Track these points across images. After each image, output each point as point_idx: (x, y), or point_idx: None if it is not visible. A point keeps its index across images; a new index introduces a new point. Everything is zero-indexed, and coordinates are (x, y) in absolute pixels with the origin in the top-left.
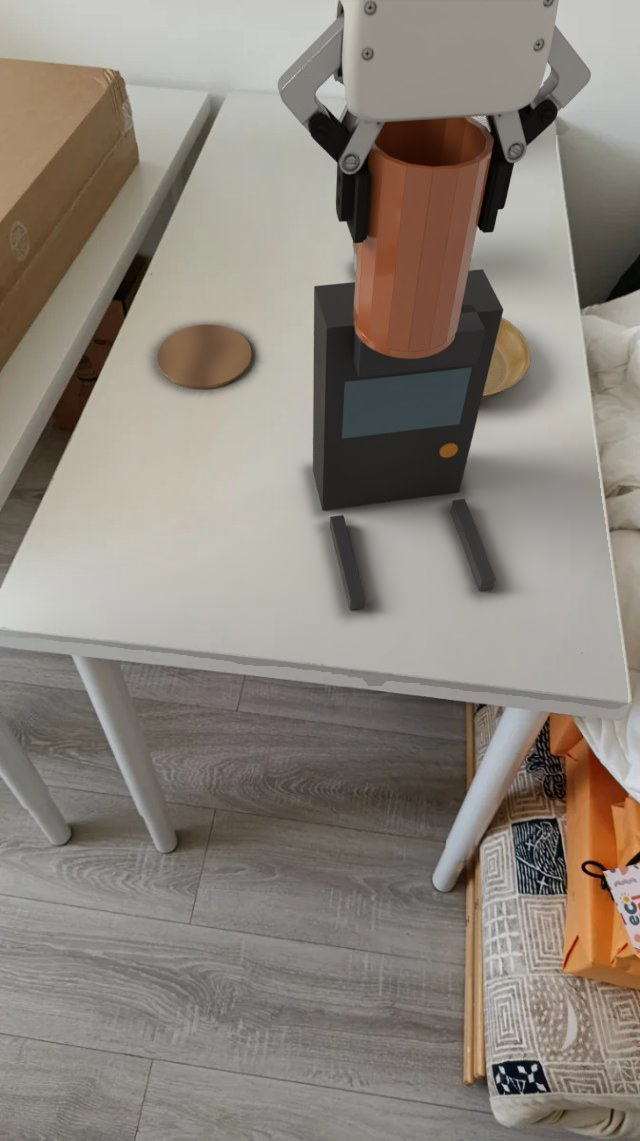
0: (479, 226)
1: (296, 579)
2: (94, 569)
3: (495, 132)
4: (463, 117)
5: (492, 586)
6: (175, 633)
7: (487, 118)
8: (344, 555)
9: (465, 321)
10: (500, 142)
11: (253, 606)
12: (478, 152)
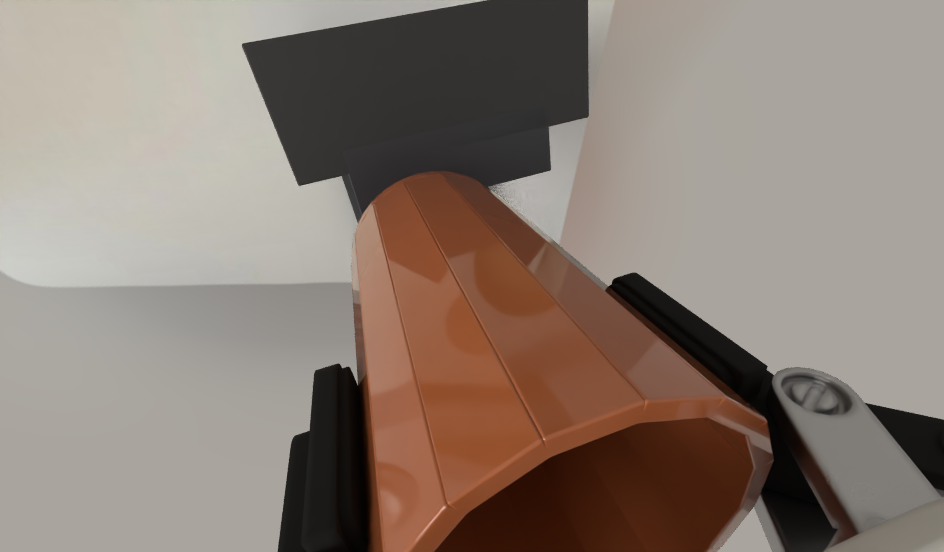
0: None
1: (309, 210)
2: (72, 217)
3: (782, 448)
4: (742, 432)
5: None
6: (206, 276)
7: (801, 466)
8: (354, 196)
9: (527, 152)
10: (761, 520)
11: (273, 242)
12: (699, 433)
